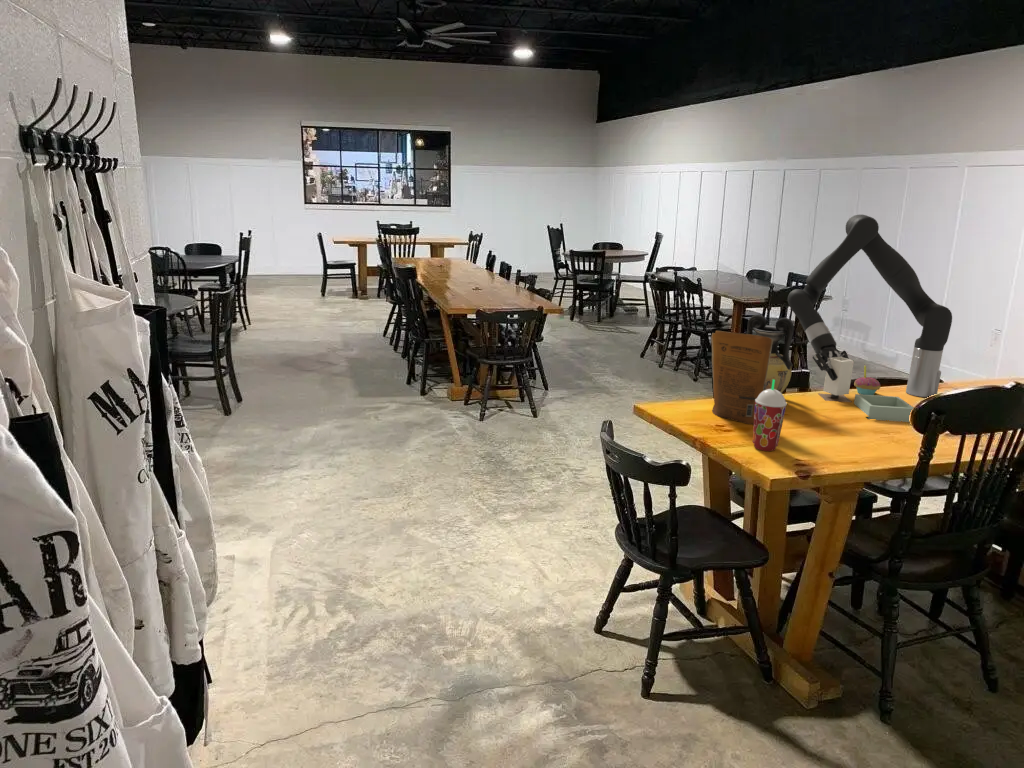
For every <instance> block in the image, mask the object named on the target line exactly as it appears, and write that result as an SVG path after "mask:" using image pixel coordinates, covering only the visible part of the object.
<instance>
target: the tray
mask: <svg viewBox="0 0 1024 768" xmlns="http://www.w3.org/2000/svg"><path fill="white" fill-rule="evenodd" d="M853 400H854V402H853V404H854V405H855V406H856V407H857V408H858V409H859V410H861V411H862V412H863V413H864V414H865V415H867V416H865V418H866V419H867V420H870V419H876V420H875V421H886V420H887V421H886V422H888V420H889V422H901V421H902V423H905V422H906V423H910V422H909V415H910V412H911V410H912V409H913V408H915V407H913V406H912V405H911V404H909V403H908V402H906V401H905V400H904V399H902V398H901V397H900V396H894V395H893V396H891V395H875V394H874V395H862V394H859V393H855V395H854V399H853Z"/></svg>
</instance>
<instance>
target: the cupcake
mask: <svg viewBox="0 0 1024 768" xmlns="http://www.w3.org/2000/svg"><path fill="white" fill-rule="evenodd" d="M853 385H854V387H856V390H857V394H861V395H875V393H876V392H877V391H879V390H880V389H881V382H879V380H877V379H876V378H875V377H871V376H867V366H866V365H864V367H863V376H862V377H858V378H857V379H855V380H854V383H853Z"/></svg>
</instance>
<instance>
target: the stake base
mask: <svg viewBox="0 0 1024 768" xmlns="http://www.w3.org/2000/svg"><path fill="white" fill-rule="evenodd" d="M817 394H818V395H819V396H820V397H821V398H822V400H824V401H826V402H827V401H828V402H844V403H853V401H852V400H851V399H849V398H848V397H847V396H846V394H844V395H833V394H831V393H820V392H819V393H817Z"/></svg>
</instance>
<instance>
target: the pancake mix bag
mask: <svg viewBox="0 0 1024 768" xmlns="http://www.w3.org/2000/svg"><path fill="white" fill-rule="evenodd" d="M710 337H711V338H710V343H711V364H712V366H711V367H712V369H711V371H712V388H713V389H712V392H713V403H714V404H713V407H712V410H711V412H712V414H714V415H715V416H716V415H717V416H716V417H720V418H725V419H727V420H732V421H735V422H736V421H737V422H739V423H743V424H747V425H754V412H755V399H756V398H757V397H758V395H759V394H760V393H761V392H762V391H763V389H764V384H765V381H766V376H767V371H768V364H769V359H770V355H771V349H772V344H773V340H772V339H771V338H769V337H764V336H759V335H756V334H753V335H751V334H747V333H741V332H740V333H739V332H730V331H725V330H724V331H722V330H715V332H712V333H711V336H710Z"/></svg>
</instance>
